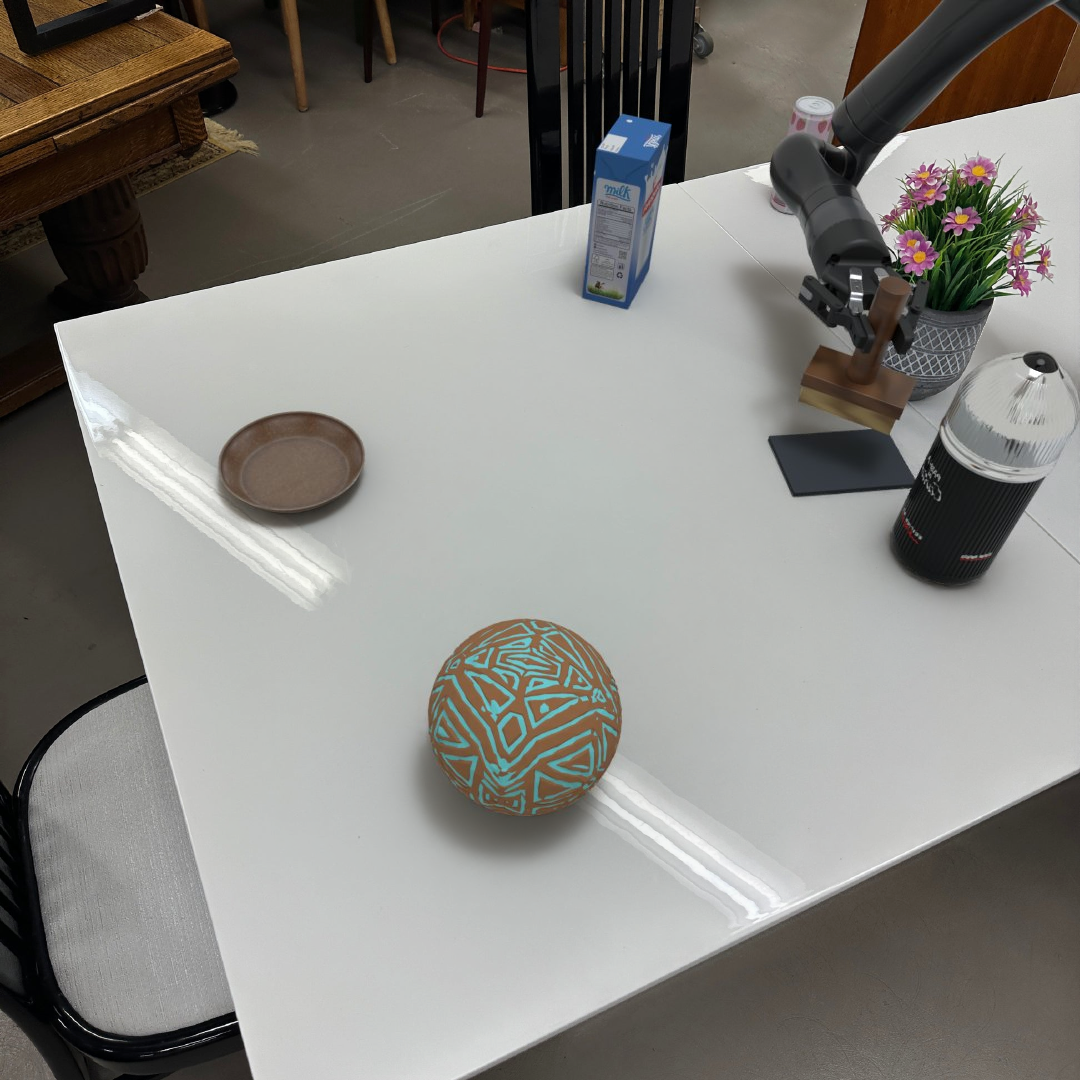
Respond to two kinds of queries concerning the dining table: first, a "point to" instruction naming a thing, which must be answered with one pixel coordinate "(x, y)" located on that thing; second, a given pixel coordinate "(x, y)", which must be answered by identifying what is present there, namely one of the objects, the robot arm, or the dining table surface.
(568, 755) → the decorative sphere
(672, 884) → the dining table surface
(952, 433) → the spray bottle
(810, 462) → the mat
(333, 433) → the saucer
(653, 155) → the milk carton
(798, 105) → the beverage can
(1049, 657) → the dining table surface
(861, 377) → the brush
